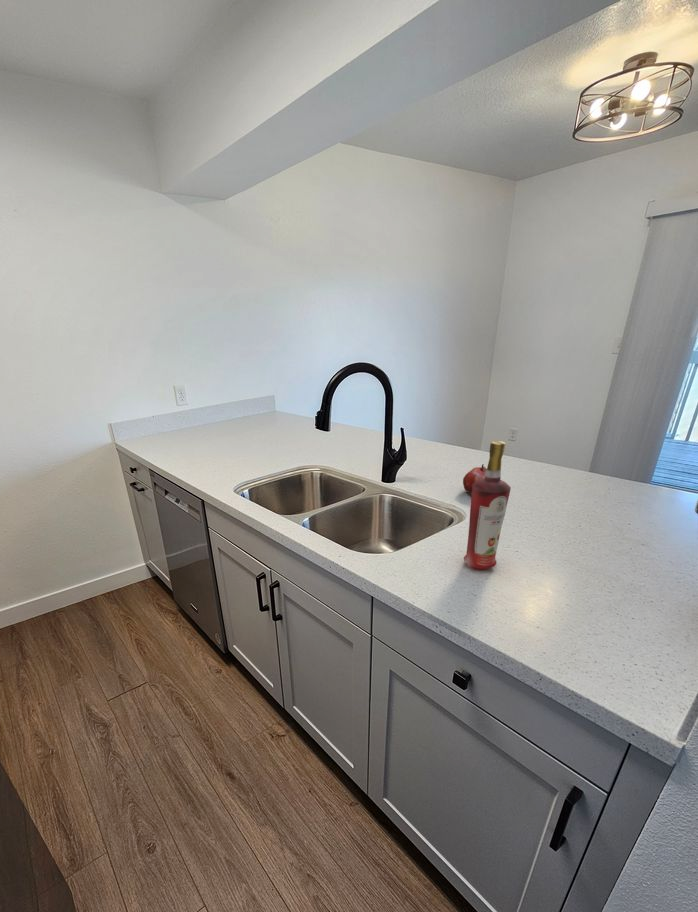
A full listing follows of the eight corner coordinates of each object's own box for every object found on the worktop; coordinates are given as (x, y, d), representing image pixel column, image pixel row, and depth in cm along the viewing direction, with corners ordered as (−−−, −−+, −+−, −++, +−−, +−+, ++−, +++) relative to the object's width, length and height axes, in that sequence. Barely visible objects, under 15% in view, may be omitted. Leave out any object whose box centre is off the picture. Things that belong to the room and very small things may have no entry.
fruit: (460, 487, 143) (464, 458, 138) (491, 489, 140) (496, 458, 136) (462, 497, 135) (466, 466, 131) (495, 499, 132) (500, 467, 128)
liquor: (484, 555, 102) (503, 437, 90) (503, 571, 95) (526, 445, 83) (455, 560, 101) (470, 440, 89) (472, 575, 94) (491, 449, 82)
